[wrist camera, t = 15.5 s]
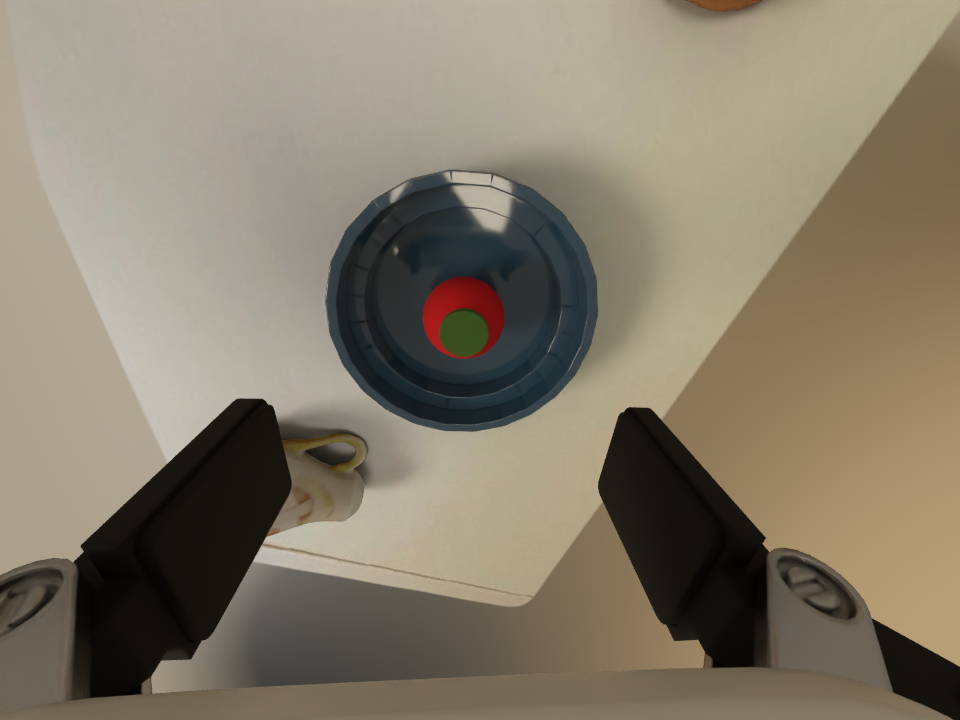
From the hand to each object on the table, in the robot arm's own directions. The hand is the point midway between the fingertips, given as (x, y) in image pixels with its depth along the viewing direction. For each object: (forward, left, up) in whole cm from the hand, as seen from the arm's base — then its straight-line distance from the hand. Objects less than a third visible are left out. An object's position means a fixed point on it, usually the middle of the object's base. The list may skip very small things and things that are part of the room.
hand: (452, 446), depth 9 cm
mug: (-12, -14, -15) cm, 24 cm away
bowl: (0, 0, -15) cm, 15 cm away
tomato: (0, 0, -14) cm, 14 cm away
